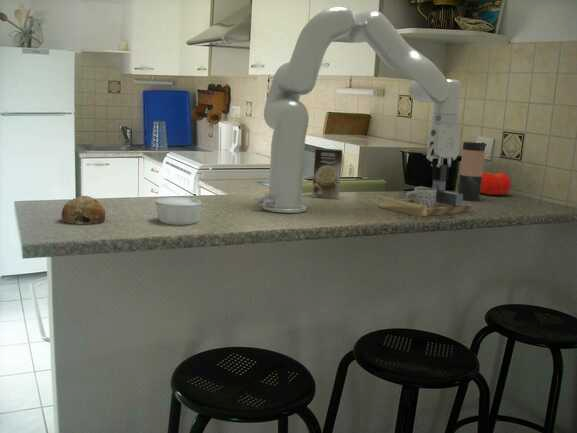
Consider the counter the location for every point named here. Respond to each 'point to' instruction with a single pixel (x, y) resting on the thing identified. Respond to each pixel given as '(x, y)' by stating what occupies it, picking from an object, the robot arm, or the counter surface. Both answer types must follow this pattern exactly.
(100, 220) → the bread roll
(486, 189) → the tomato
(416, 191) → the mug
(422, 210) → the wooden tray
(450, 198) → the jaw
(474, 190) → the travel mug
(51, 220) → the counter surface
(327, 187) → the coffee box
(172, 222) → the ramekin
